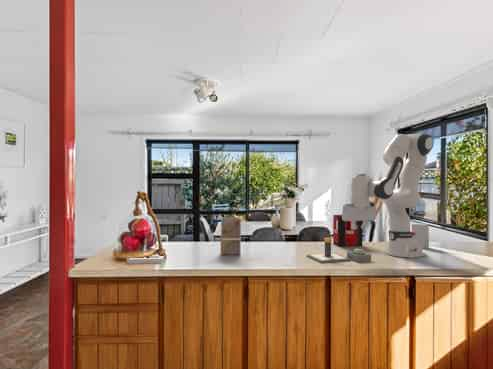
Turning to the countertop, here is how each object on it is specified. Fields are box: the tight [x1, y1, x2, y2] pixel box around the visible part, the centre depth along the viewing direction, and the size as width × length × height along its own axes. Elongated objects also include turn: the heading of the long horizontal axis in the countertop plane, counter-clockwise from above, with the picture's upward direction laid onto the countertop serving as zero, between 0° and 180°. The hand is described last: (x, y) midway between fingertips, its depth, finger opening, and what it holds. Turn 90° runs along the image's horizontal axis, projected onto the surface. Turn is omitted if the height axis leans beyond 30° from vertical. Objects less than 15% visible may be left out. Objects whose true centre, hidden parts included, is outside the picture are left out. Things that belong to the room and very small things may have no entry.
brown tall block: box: [220, 211, 242, 257], centre depth 199 cm, size 8×12×26 cm
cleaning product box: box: [332, 214, 363, 248], centre depth 231 cm, size 16×9×20 cm, turn 98°
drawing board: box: [306, 252, 351, 264], centre depth 192 cm, size 18×16×1 cm
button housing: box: [346, 251, 372, 263], centre depth 189 cm, size 9×9×4 cm
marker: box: [324, 237, 332, 257], centre depth 191 cm, size 4×4×10 cm
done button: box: [353, 248, 364, 255], centre depth 189 cm, size 5×5×3 cm
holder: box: [126, 254, 165, 264], centre depth 201 cm, size 45×18×3 cm, turn 5°
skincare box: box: [411, 222, 430, 250], centre depth 225 cm, size 8×7×16 cm
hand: (359, 228), depth 189 cm, fingers open, 4 cm apart
